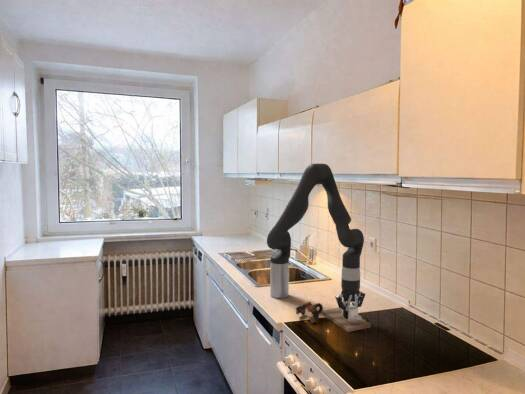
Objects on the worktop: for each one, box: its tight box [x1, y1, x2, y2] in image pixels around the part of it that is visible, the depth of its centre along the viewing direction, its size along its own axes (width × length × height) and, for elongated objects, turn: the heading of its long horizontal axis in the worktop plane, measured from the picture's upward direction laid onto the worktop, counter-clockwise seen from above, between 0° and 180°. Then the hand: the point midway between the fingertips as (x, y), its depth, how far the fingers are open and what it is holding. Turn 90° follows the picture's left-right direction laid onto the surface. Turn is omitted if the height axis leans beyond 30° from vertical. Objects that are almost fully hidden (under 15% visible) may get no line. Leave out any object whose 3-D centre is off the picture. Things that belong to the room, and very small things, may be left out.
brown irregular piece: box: [295, 301, 324, 324], centre depth 163 cm, size 12×10×8 cm
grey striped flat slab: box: [320, 307, 372, 333], centre depth 160 cm, size 20×11×2 cm, turn 23°
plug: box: [342, 303, 363, 323], centre depth 156 cm, size 11×4×6 cm, turn 23°
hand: (349, 317), depth 157 cm, fingers closed on plug, 3 cm apart
